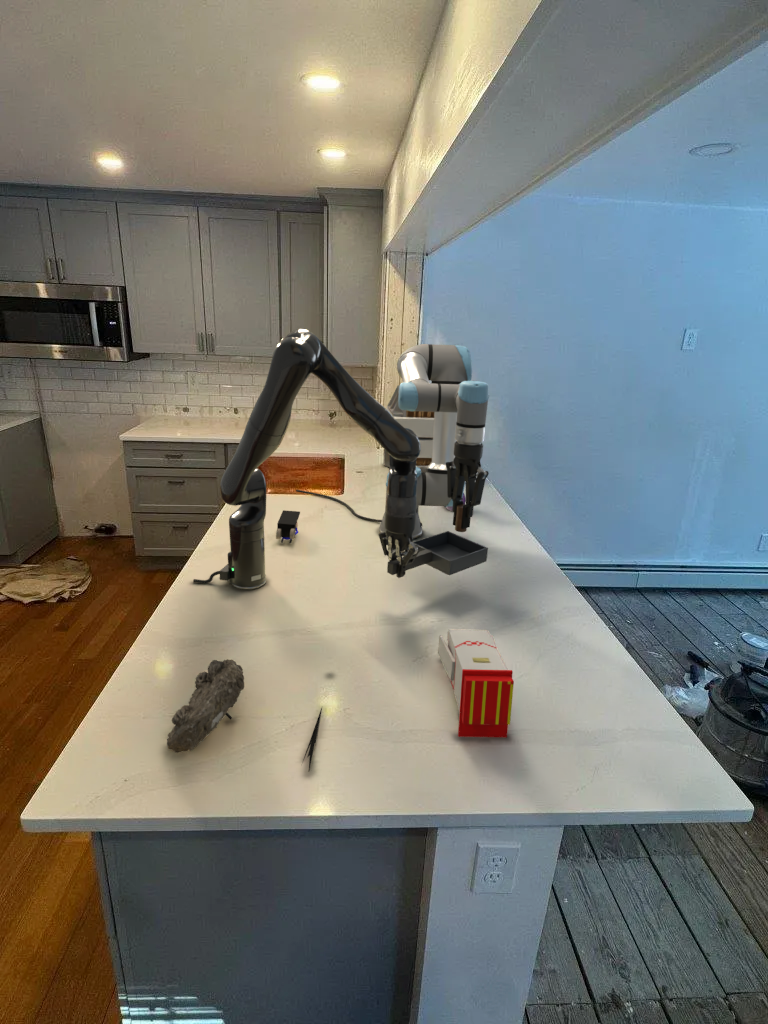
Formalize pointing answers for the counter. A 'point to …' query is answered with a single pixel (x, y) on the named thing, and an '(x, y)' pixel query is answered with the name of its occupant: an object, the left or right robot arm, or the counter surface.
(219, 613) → the counter surface
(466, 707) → the toy
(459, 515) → the peg
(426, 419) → the white slatted crate
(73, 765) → the counter surface
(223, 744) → the counter surface
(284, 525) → the figurine character
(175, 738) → the fossil
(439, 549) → the tray
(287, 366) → the left robot arm
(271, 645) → the counter surface
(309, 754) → the feather
